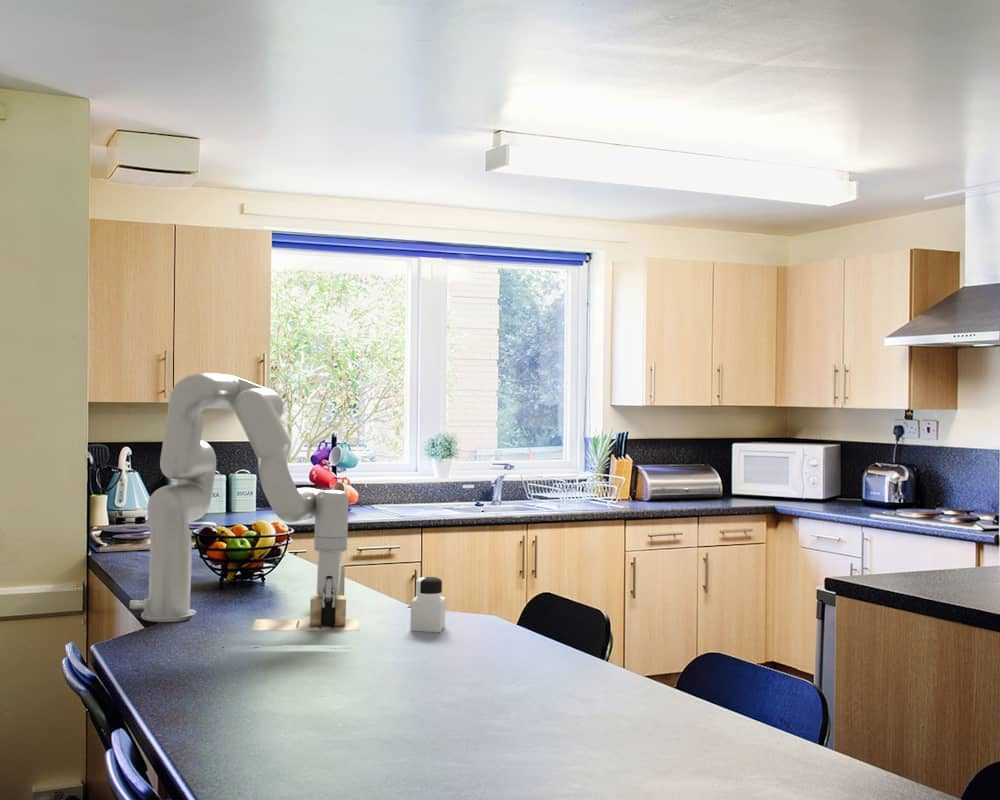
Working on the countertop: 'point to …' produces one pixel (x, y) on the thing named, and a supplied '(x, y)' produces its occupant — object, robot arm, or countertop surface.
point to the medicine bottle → (428, 606)
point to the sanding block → (317, 605)
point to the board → (300, 625)
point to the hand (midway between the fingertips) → (328, 621)
